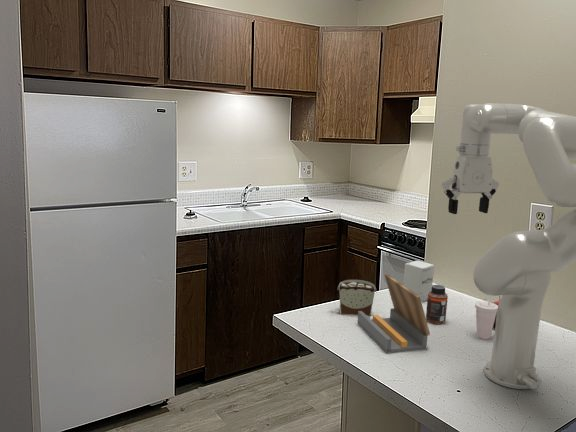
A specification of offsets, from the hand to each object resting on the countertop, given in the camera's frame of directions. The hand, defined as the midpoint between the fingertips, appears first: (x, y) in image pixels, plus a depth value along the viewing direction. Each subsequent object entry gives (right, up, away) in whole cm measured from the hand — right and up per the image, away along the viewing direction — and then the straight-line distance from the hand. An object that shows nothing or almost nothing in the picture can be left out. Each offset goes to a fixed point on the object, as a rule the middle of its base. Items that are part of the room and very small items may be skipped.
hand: (468, 212), depth 143 cm
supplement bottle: (-4, -34, +18) cm, 39 cm away
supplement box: (-5, -30, +37) cm, 48 cm away
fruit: (+16, -35, +15) cm, 41 cm away
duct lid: (-16, -26, +5) cm, 31 cm away
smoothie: (+7, -36, +8) cm, 38 cm away
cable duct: (-20, -36, +6) cm, 42 cm away
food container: (-28, -32, +24) cm, 49 cm away
